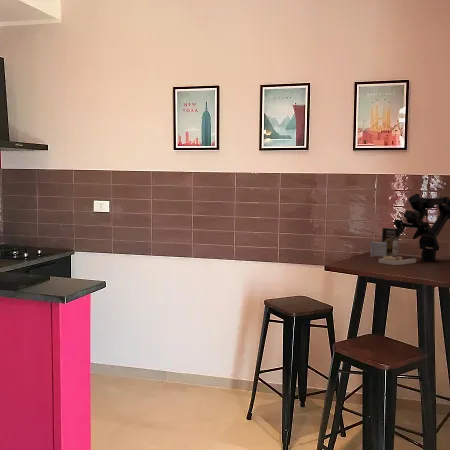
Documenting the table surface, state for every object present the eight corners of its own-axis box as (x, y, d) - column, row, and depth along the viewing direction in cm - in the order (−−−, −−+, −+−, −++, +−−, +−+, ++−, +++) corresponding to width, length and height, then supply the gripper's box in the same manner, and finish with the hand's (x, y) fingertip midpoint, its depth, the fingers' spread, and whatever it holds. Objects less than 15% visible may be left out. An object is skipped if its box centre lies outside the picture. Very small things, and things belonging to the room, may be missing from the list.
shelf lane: (398, 262, 277) (399, 256, 277) (416, 265, 269) (416, 258, 269) (378, 264, 265) (378, 258, 265) (395, 267, 257) (396, 261, 257)
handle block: (390, 261, 269) (392, 240, 268) (402, 263, 264) (403, 241, 263) (382, 262, 264) (384, 240, 263) (394, 264, 259) (395, 242, 259)
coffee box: (380, 256, 298) (382, 228, 296) (380, 255, 304) (381, 227, 303) (397, 257, 296) (399, 229, 294) (396, 256, 302) (398, 228, 301)
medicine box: (384, 257, 293) (385, 242, 292) (386, 259, 289) (387, 243, 288) (370, 257, 294) (370, 241, 293) (371, 258, 289) (372, 242, 289)
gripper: (396, 204, 279) (383, 225, 273) (429, 206, 265) (416, 228, 258) (403, 218, 285) (391, 240, 278) (436, 221, 270) (423, 244, 264)
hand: (405, 237), depth 270 cm, fingers open, 9 cm apart
